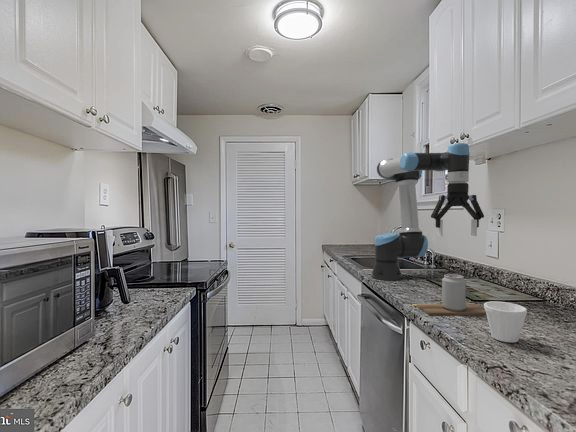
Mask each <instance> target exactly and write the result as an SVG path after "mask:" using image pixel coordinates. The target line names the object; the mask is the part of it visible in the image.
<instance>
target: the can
mask: <svg viewBox="0 0 576 432" xmlns="http://www.w3.org/2000/svg"><path fill="white" fill-rule="evenodd" d="M443 276H444V277H443V278H442V279H441V304H442V306H443V307H444V308H445V309H447V310H451V311H463V310H464V309H465V308H466V303H467V297H466V296H467V295H466V294H467V292H466V291H467V289H466V288H467V285H466V284H467V281H466V279H465V276H463V275H461V274H456V273H455V274H454V273H447V274H444V275H443Z"/></svg>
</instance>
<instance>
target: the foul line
mask: <svg viewBox="0 0 576 432" xmlns="http://www.w3.org/2000/svg"><path fill="white" fill-rule="evenodd" d="M418 304H419V303H414V304H413V303H412V304H411V306H412V307H417V305H418ZM466 304H476V303H469V302H468V303H467V302H466Z"/></svg>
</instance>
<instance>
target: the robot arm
mask: <svg viewBox="0 0 576 432" xmlns="http://www.w3.org/2000/svg"><path fill="white" fill-rule="evenodd" d="M469 169H470V145H469V144H468V143H464V142H461V143H459V142H458V143H452V144H449V145H448V148H447V151H446V152H414V151H413V152H404V153H403V154H402V155H401V156H400V157H396V158H386V159H383V160H381V161H379V162H378V163H377V166H376V172H377V175H378V176H379V177H380V178H381V179H383V180H388V181H395V185H396V186H397V187H398V191H399V206H400V219H401V230H400V231H399V234H398V233H397V232H390V233H382V234H378V235H376V236H375V237H374V238H375V240H374V260H375V261H374V265H373V268H372V272H371V277H372V279H375V280H380V281H398V280H401V279H402V275H403V274H402V271H401V269H400V265H399V258H400V259H401V258H415V259H416V258H422V257H423V256H425V255H426V253H427V252H428V248H429V240H428V238H427V236H426V235H425V234H423V231H422V230H421V229H420V227H419V212H418V200H417V198H418V197H417V184H418V182H419V180H420V179H421V177H422V174H423V171H426V172H427V171H428V172H429V171H433V172H434V171H435V172H445V171H447V176H446V178H447V181H446V183H448V184H446V185H447V187H446V188H447V189H446V190H447V191H446V193H447V195H444V194H442V195H441V194H440V195H439V196H438V201H437V203H436V205H435V207H434V208H433V210H432V213H431V215H430V218H432V219H434V220H435V228H437V237H443V231H444V230H443V228H444V226H443V225H444V220H443V219H442V218H443V217H444V216H445V215H446V214H447V213H448V211H449V210H450V209H451V208H452V207H462V208H464V210H465V211H467V213H468V214H469V215H470V216H471V218H472V219H470V220H471V223H470V235H471V236H473V237H477V235H478V228H479V227H480V220H481V219H484V217H485V215H484V212H483V210H482V208H481V207H480V204H479V201H478V200H477V199H478V198H477V194H470V195H469V189H470V187H469V183H468V182H469V180H470V178H469V174H470V173H469V171H470V170H469ZM446 200H447V202H446V204H445V201H446ZM468 200H469V201H470V203H471V204H470V203H469V202H468ZM444 204H445V205H444ZM443 205H444V206H443ZM442 206H443V207H442Z"/></svg>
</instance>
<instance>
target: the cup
mask: <svg viewBox="0 0 576 432" xmlns="http://www.w3.org/2000/svg"><path fill="white" fill-rule="evenodd" d="M483 308H484V309H485V311H486V314H487V315H486V317H487V322H488V326H489V329H490V330H489V331H490V335H491V338H492V339H493V340H496V341H497V342H500V343H505V344H516V343H518V342H519V339H520V337H521V333H522V329H523V327H524V323H525V320H526V316H528V315H527V314H528V310H527V308H526V307H524V306H523V305H519V304H516V303H512V302H506V301H495V300H494V301H487V302H484V304H483Z"/></svg>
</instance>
